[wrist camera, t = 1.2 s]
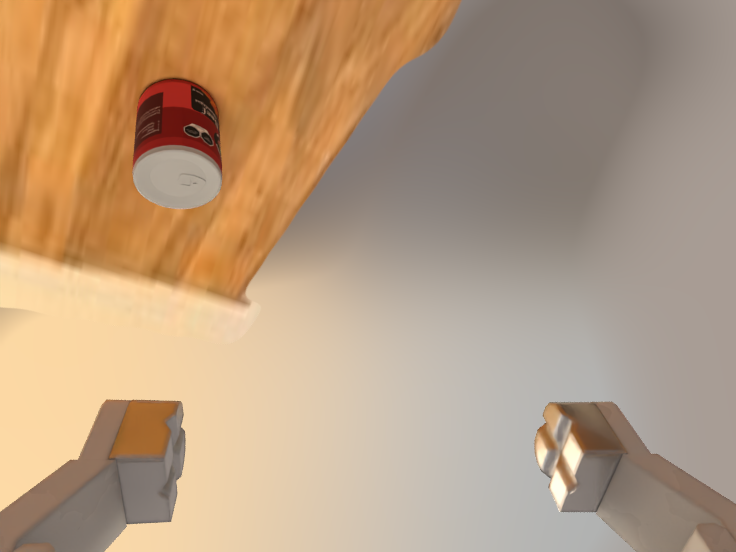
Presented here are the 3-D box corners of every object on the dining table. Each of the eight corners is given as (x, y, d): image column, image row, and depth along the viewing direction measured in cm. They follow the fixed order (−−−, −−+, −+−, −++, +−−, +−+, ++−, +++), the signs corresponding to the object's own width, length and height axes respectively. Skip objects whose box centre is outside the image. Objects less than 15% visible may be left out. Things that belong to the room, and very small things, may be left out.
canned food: (222, 135, 63) (227, 206, 57) (147, 140, 62) (143, 213, 55) (212, 74, 57) (216, 146, 51) (129, 78, 56) (122, 153, 49)
